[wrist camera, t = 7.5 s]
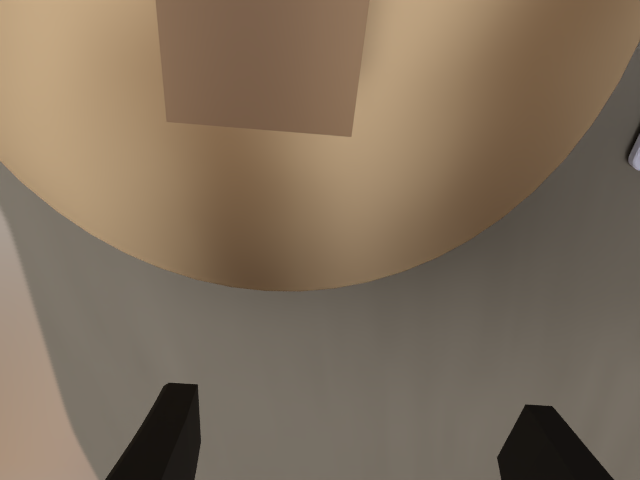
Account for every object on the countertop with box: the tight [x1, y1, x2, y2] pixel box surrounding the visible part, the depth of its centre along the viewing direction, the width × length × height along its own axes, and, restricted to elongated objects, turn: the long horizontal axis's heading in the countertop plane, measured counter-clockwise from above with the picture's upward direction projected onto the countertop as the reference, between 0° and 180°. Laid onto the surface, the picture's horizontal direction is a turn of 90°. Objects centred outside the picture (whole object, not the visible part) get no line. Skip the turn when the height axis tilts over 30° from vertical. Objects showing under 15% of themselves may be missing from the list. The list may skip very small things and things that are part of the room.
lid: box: [0, 0, 640, 291], centre depth 9 cm, size 15×15×4 cm
